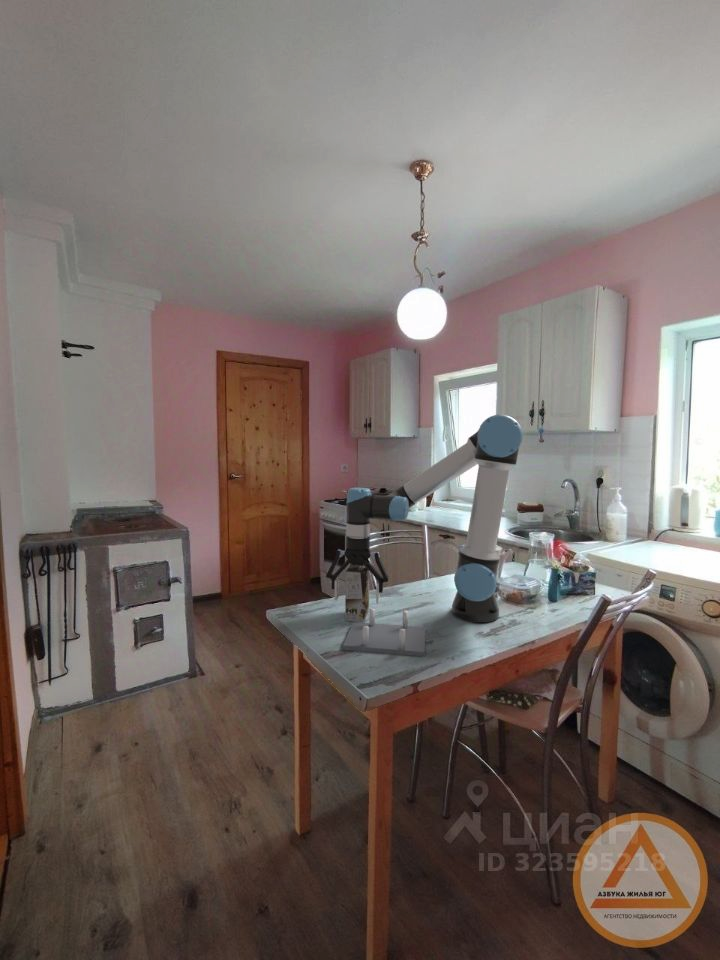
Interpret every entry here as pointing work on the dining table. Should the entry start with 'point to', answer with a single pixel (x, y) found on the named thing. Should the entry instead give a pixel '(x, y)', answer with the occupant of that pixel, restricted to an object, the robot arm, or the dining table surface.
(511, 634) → the dining table surface
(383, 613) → the dining table surface
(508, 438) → the robot arm
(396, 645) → the grey pegged base plate
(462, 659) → the dining table surface
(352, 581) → the coffee box
